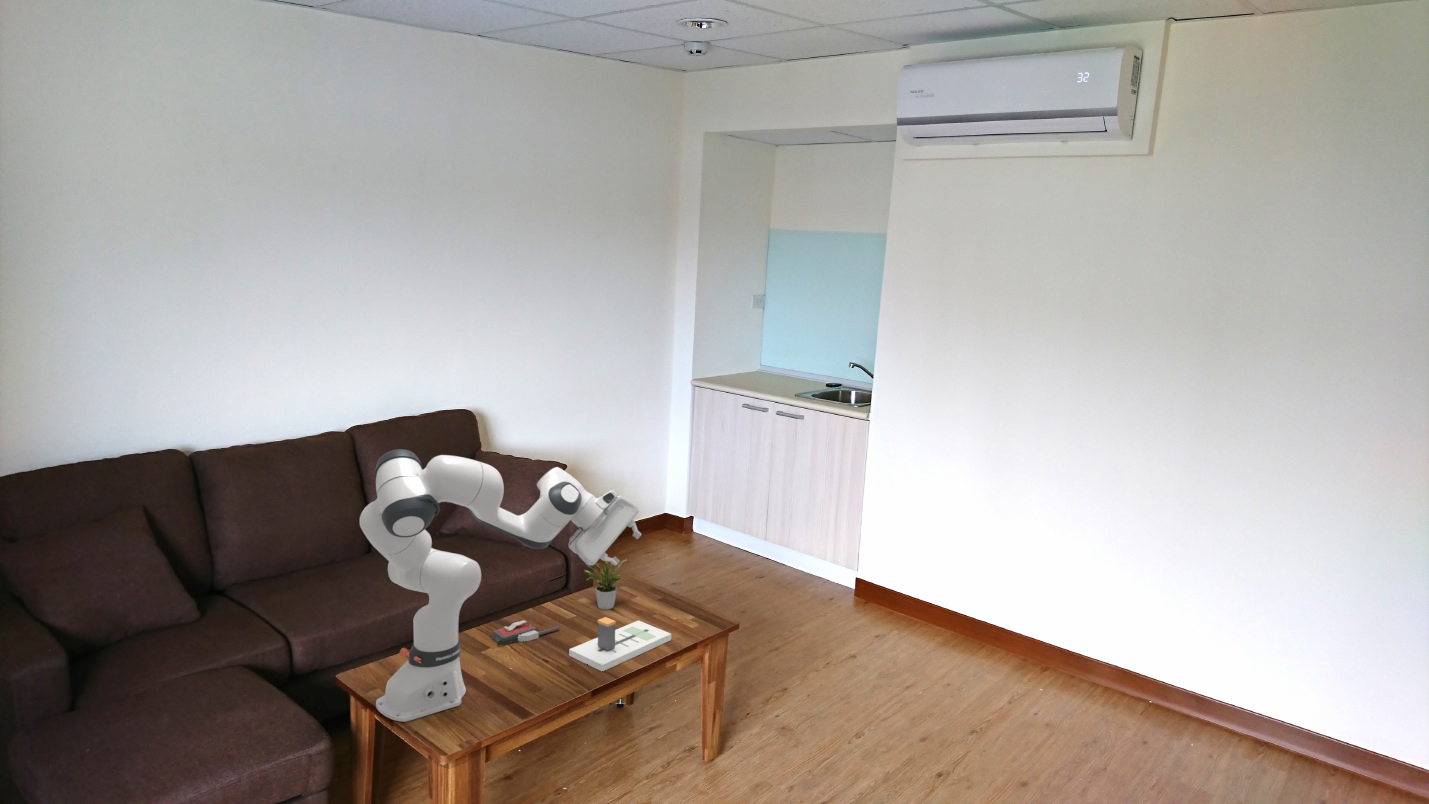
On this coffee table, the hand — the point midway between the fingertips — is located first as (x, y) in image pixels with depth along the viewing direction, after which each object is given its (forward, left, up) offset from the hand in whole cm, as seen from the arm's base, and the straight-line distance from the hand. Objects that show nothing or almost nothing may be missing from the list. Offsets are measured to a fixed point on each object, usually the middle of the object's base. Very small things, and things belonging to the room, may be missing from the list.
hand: (628, 550), depth 241 cm
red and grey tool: (-1, +43, -38) cm, 57 cm away
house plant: (+32, +42, -38) cm, 64 cm away
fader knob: (+7, +16, -35) cm, 39 cm away
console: (+13, +16, -37) cm, 42 cm away
